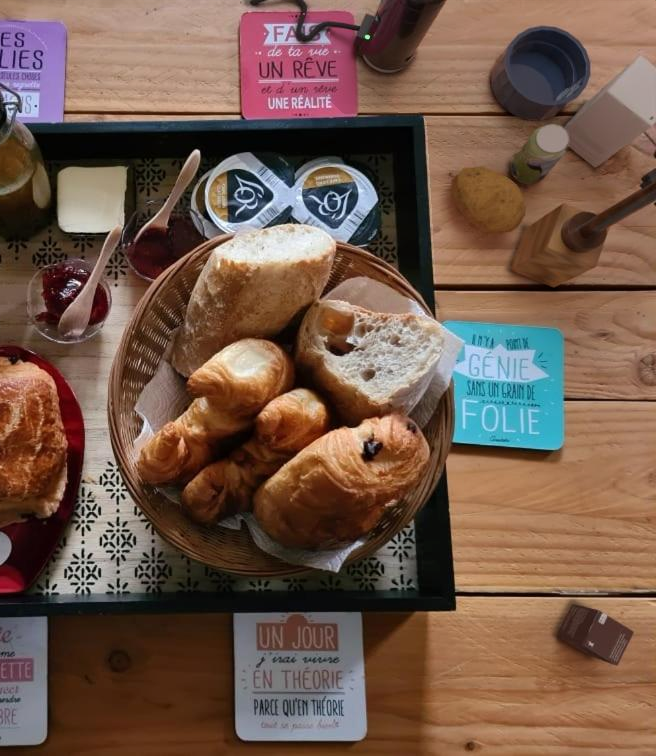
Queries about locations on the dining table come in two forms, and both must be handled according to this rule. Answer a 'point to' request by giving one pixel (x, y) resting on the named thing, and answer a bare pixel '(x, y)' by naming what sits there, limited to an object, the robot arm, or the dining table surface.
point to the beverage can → (540, 154)
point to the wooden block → (552, 250)
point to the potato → (488, 199)
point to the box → (595, 633)
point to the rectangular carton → (615, 114)
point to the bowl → (540, 73)
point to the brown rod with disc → (603, 221)
